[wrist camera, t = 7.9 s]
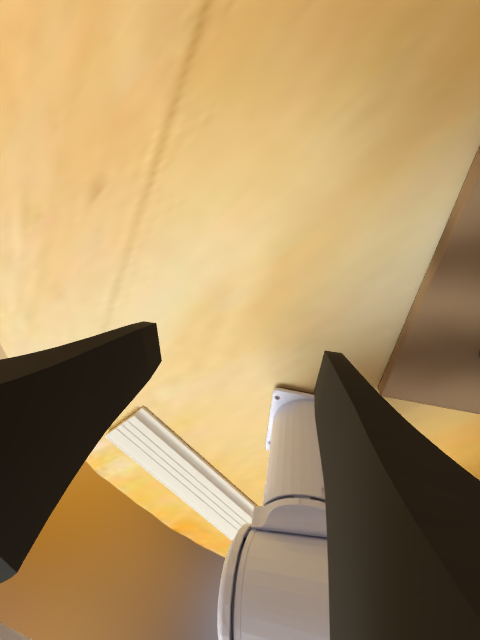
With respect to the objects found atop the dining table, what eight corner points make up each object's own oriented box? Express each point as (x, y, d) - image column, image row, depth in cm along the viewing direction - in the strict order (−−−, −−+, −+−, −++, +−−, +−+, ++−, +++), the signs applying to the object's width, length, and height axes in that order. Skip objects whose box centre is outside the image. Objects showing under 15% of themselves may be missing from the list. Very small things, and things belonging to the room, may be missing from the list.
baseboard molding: (152, 398, 29) (112, 427, 34) (137, 416, 26) (96, 444, 32) (299, 530, 34) (244, 537, 39) (299, 556, 31) (240, 560, 37)
